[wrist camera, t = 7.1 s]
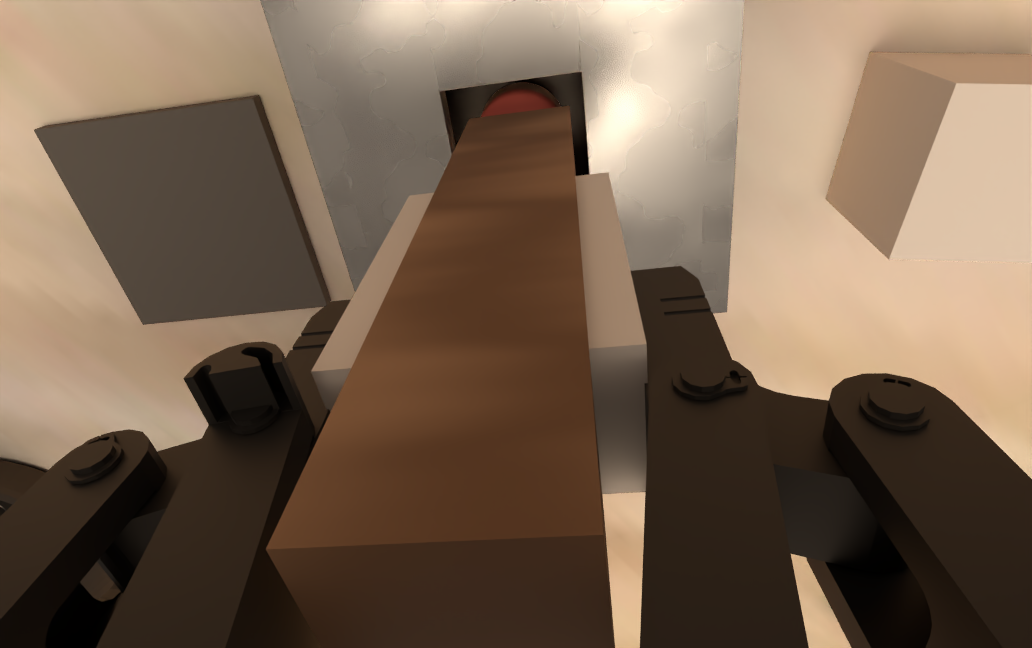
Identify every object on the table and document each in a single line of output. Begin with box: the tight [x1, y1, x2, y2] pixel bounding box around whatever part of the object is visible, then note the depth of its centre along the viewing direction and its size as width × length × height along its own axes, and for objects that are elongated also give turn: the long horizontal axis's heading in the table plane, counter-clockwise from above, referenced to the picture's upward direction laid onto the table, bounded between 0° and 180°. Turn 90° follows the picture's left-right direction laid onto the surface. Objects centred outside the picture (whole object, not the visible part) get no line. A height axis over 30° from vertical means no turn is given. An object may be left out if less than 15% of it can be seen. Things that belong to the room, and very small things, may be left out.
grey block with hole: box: [260, 0, 744, 313], centre depth 22 cm, size 14×14×6 cm
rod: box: [266, 106, 615, 648], centre depth 12 cm, size 3×3×15 cm
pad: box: [34, 95, 331, 325], centre depth 28 cm, size 10×10×1 cm
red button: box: [481, 82, 561, 117], centre depth 22 cm, size 3×3×2 cm
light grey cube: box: [826, 52, 1032, 263], centre depth 22 cm, size 6×6×6 cm
